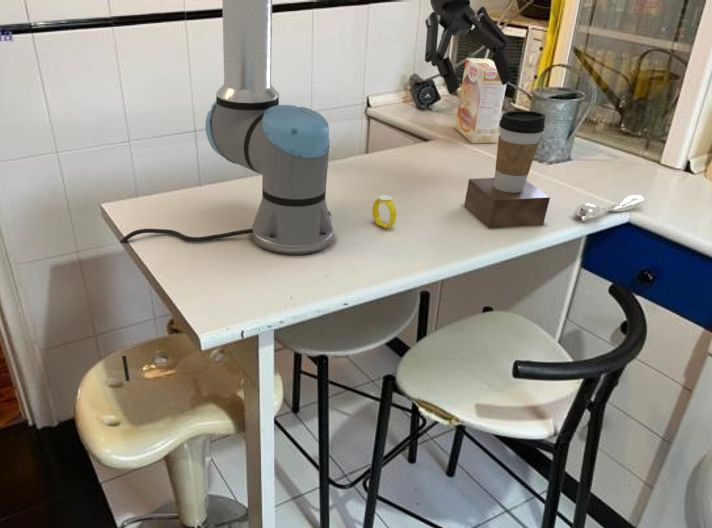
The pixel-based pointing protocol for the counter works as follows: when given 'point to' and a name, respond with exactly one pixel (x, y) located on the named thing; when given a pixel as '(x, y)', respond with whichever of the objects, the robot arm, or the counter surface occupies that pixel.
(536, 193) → the walnut block
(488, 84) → the coffeecake box
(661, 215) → the counter surface
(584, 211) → the silver scoop
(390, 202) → the watch
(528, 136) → the coffee cup
